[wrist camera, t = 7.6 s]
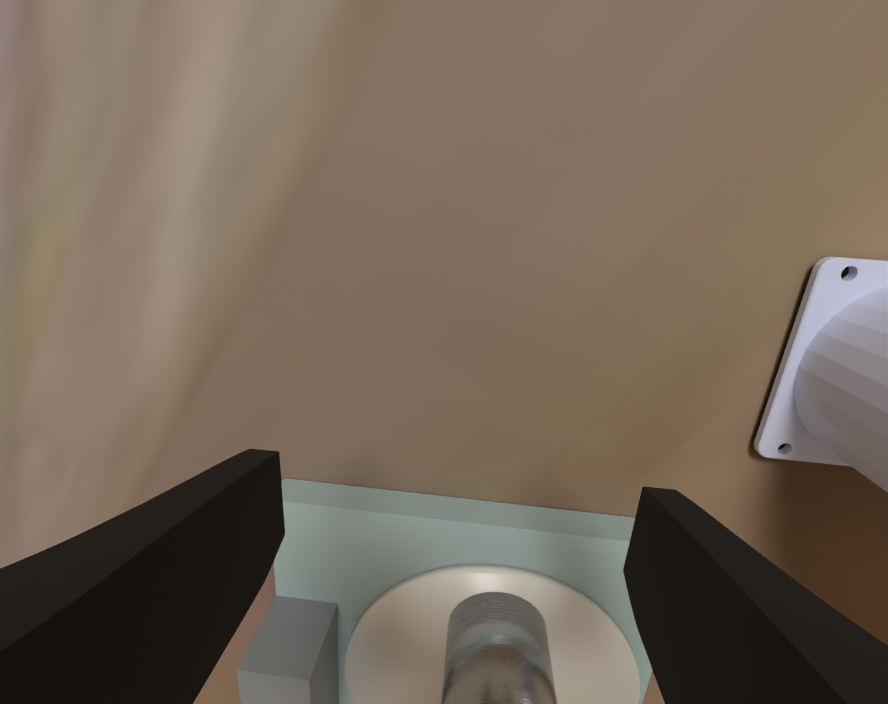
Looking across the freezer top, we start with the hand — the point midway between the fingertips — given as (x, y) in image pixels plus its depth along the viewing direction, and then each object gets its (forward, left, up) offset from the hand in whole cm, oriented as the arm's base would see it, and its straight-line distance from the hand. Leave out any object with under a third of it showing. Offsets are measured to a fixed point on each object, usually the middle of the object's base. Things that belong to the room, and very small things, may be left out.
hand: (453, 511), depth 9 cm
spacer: (-2, +12, -8) cm, 15 cm away
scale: (-1, +16, -10) cm, 19 cm away
